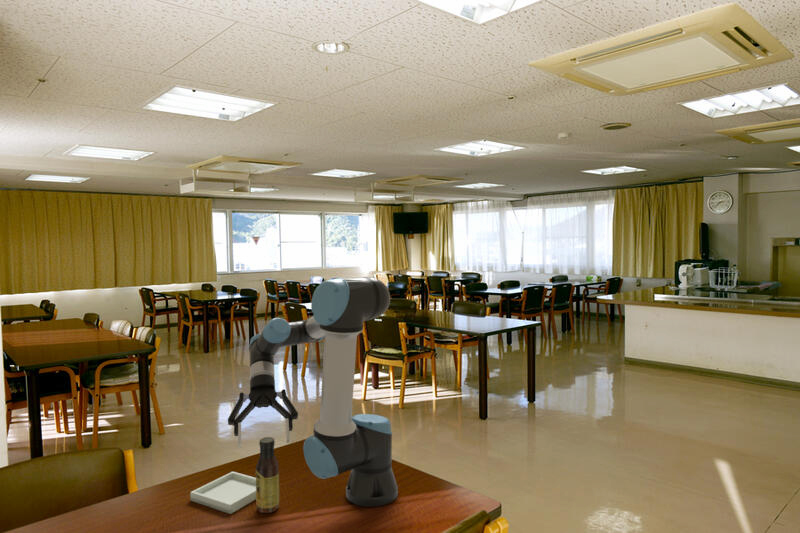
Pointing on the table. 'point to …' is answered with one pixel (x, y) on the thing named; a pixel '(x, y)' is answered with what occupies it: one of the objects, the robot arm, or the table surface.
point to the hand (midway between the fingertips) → (264, 443)
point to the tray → (227, 492)
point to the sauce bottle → (267, 477)
